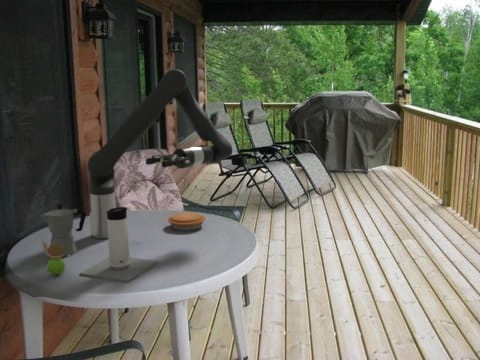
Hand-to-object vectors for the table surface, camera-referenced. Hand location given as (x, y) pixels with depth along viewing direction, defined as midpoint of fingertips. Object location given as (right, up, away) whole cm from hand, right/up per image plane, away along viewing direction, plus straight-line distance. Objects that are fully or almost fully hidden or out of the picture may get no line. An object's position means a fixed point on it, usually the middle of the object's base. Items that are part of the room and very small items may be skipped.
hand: (154, 163), depth 187 cm
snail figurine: (-30, -36, -14) cm, 49 cm away
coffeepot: (-32, -32, +6) cm, 46 cm away
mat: (-10, -35, -10) cm, 37 cm away
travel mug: (-10, -34, -10) cm, 37 cm away
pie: (+8, -25, +36) cm, 45 cm away
